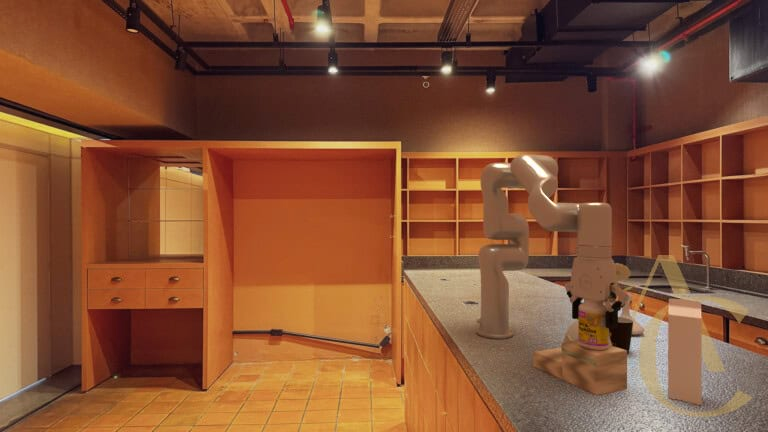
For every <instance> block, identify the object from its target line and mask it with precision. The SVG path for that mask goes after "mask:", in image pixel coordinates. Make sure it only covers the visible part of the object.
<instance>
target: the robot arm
mask: <svg viewBox="0 0 768 432" xmlns="http://www.w3.org/2000/svg"><path fill="white" fill-rule="evenodd" d="M558 172H559V165H558V163H557V161H556V159H555V158H553V157H551V156H550V155H546V154H545V155H543V154H531V153H530V154H529V153H528V154H525V153H524V154H519V155H517V156H516V157H514V158H513V159H512V160H511V162H493V163H489V164H488V165H486V166H484V168H483V170H482V172H481V175H480V183H479V184H480V189H481V194H482V198H483V199H482V201H483V209H482V210H483V216H482V217H483V218H482V220H483V221H482V222H483V224H482V226H483V227H482V230H483V234H484V237H485V238H487V240H491V241H509V243H490V244H485V245H483V246H481V248H480V249H479V251H478V255H477V258H478V265H479V271H480V318H479V319H476V323H477V324H479V327H477V328H476V330H475V334H477V335H478V336H481V337H484V338H487V339H500V340H501V339H502V340H503V339H504V340H505V339H509V338H513V337H514V331H513V330H512V329H509V328H510V325H509V324H510V320H509V318H510V316H509V315H510V284H509V281H508V279H507V277H506V276H505V274H504V272H513V271H522V270H524V269H525V268H527V265H528V263H529V257H530V256H529V252H530V250H529V248H530V247H529V246H530V244H529V243H530V229H529V228H530V227H529V222H528V220H527V219H526V217H525V216H524V215H523V214H520V213H509V198H508V196H507V195H506V193H505V191H504V190H503V189H505V188H506V189H520V190H521V189H524V190H525V191H526V192H527V193H528V194H529V195H528V200H527V204H528V210H529V213H530V215H531V217H533V219H535V221H536V222H537V223H538V224H539V226H541V227H542V228H543V229H545V230H546V231H549V232H569V233H572V232H573V233H577V236H576V245H577V246H576V247H575V248H574V251H575V252H576V255H577V256H576V257H574V259H573V263H572V267H571V276H570V281H567V282H565V283H564V284H563V285H564V286H563V287H564V288H565V291H566V295H567V297H568V298H569V302H570V303H571V318H572V319H573V320H577V319H579V305H580V304H581V303H583V301H584V299H587V300H592V301H596V302H603V303H604V305H605V306H606V307H607V309H608V311H606V328H608V329H610V328H617V327H618V317H619V312H620V311H622V307H623V306H624V305H625V302H626V301H627V299H628V297H629V295H628V294H629V293H627V292H626V291H623V290H624V289H622V288H621V287H620V286H619V287H620V288H621V289H620V288H619V287H617V286H618V285H617V277H616V270H615V264H616V263H615V261H614V259H613V258H612V256H613V255H612V250H613V249H612V245H613V244H612V238H613V237H612V235H613V231H612V229H613V228H612V227H613V226H612V225H613V224H612V223H613V222H612V221H613V219H612V217H613V215H612V212H613V211H612V206H611V205H610V204H609V203H607V202H583V203H579V202H578V203H574V202H553V201H552V200H551V199H550V198H551V197H552V196H553V195H554V194H555V193H556V191H557V189H558V186H559V185H558V184H559V181H558V179H557V176H558ZM614 263H615V264H614ZM617 297H618V298H617Z"/></svg>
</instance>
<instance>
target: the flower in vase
mask: <svg viewBox="0 0 768 432" xmlns="http://www.w3.org/2000/svg"><path fill="white" fill-rule="evenodd" d="M614 264H615V270H616V277H617V287H619V288H620V289H621V290H623V291H624V292H626V291H629V290H632V289H633V288H634V285H631V286H627V287H624V289H622V288H621V287H620V285H619V282H621V281H626V280H628V279H629V278H630V277H631V274H632V273H631V270H630V268H628V266H627V265H624V264H623V263H619V262H616V263H615V262H614ZM627 294H628V295H629V297H628V299H627V301H626V302H625V305H624V306H623V307H622V308H621V314H620V315H618V317H624V318H628V319H631V320H633V328H632V335H641V334H643V333H644V332H645V328H644V327H643V325H642V324H640V323H639V322H638V321H636V320H635V319H634V318H633V317H632V316H631V313H630V304H631V302H632V301H631V300H632V299H633V297H634V294H630V293H627ZM632 335H631V336H632Z"/></svg>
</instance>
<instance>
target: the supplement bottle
mask: <svg viewBox="0 0 768 432" xmlns="http://www.w3.org/2000/svg"><path fill="white" fill-rule="evenodd" d="M606 311H608V309H607V307H606V306H605V304H604V303H603V302H596V301H592V300H587V299H583V302H582V303H581V304H580V305H579V322H578V343H579V345H581V346H582V347H585V348H588V349H592V350H605V349H607V348H608V346H609V329H608V328H606Z"/></svg>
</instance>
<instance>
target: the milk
mask: <svg viewBox="0 0 768 432" xmlns="http://www.w3.org/2000/svg"><path fill="white" fill-rule="evenodd" d="M667 319H668V320H667V322H668V323H667V326H668V327H667V334H668V336H667V340H668V343H667V347H668V348H667V351H668V352H667V354H668V355H667V361H668V362H667V364H668V365H667V368H668V369H667V386H668V387H667V393H668V394H667V397H669V398H668V399H670V398H674V399H673V400H675V399H678V400H677V401H680V400H683V401H682V402H684V401H686V402H685V403H690V404H694V405H698V406H702V404H703V402H702V401H703V400H702V399H703V398H702V397H703V396H702V388H703V387H702V382H703V381H702V377H703V376H702V375H703V374H702V370H703V368H702V364H703V363H702V362H703V361H702V360H703V358H702V354H703V352H702V343H703V342H702V339H703V338H702V336H703V334H702V327H703V325H702V323H703V321H702V302H701V301H698V300H690V299H689V300H688V299H679V298H669V299H668V314H667Z"/></svg>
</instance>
